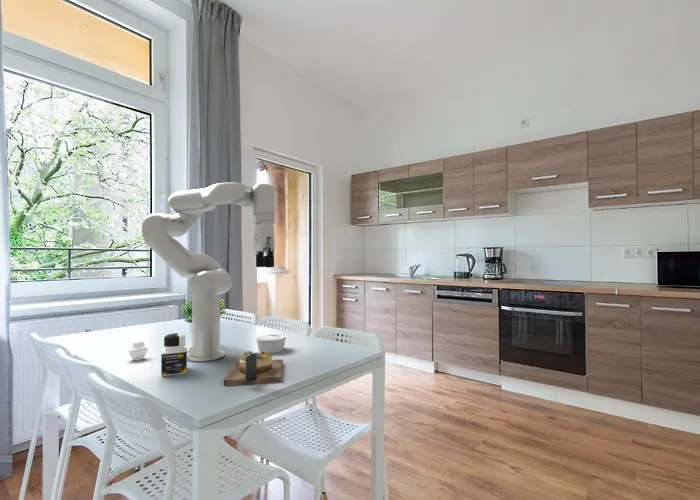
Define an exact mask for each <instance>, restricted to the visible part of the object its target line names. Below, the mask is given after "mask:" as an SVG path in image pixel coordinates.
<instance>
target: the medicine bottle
mask: <svg viewBox="0 0 700 500" xmlns="http://www.w3.org/2000/svg"><path fill="white" fill-rule="evenodd" d="M187 347H188V346H187V345H186V335H185V334H183V333H178V332H177V333H169V334H166V335H165V336H164V338H163V349H162V352H161V355H160V358H161V361H160V364H161V366H160V367H161V369H160V370H161V371H160V373H161V374H160V376H161V377H169V376H176V375H183V374H187V372H188V353H187Z"/></svg>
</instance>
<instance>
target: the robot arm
mask: <svg viewBox="0 0 700 500" xmlns="http://www.w3.org/2000/svg"><path fill="white" fill-rule="evenodd" d="M275 193H276V191H275V187H274V186H273V185H271V184H268V183H259V184H258V183H257V184H255V185H253V187H251V186H249V185H245V184H243V183H242V182H241V183H240V182H237V181H231V182H230V181H229V182H220V183H215V184H212V185H210V186H208V187H205V188H198V189H197V188H196V189H190V190H189V189H188V190H181V191H175V192H174V193H171V194H170V196H169V197H168V199H167V204H168V207H169V209H170V210H171V211H173V212H174V213H175V215H173V214H166V213H158V212H157V213H156V212H155V213H150V214H149V215H146V217H145V218H144V219H143V220H142V223H141V234H142V238H143V240H144V242H145V244H146V245H147V246H148V247H149V248H150V249H151V250H152V251H153V252H154V253H155V254H157V256H159V257H160V258H161V259H162V260H163V261H164V262H165V263H166V264H167V266H169V267H170V268H171V269H172V270H173V271H174V272H175V273H176V274H177V275H179V276H180V277H182V278H189V279H190V278H191V279H190V280H189V284H188V285H189V293H190V298H191V315H192V317H191V318H192V320H191V321H192V322H191V326H192V327H191V328H192V333H191V334H192V336H191V337H192V344H191V345H189V346H187V361H191V362H209V361H215V360H218V359H221V358H223V357H225V351H224V350H221V305H220V304H221V303H220V301H219V298H218V296H220V295H222V294H226V293H227V292H228V291H229V290H230V289H231V287H232V285H233V284H232V283H233V282H232V277H231V276H230V273H228V272H227V270H226V269H224V267H222V266H221V265H220V264H219V263H218V262H217V261H216V260H214V258H213V257H211V256H210V255H208V254H207V253H206V254H205V253H203V252H195V251H190V250H188V249H187V248H186V247H185V246H184V245H183V244H182V243H181V242H179V240H176V239H175V238H178V237H179V238H180V237H182V236H184V235H185V234H187V233H188V231H189V230H190V229H191V228H192V227H193V226H194V224H195V223H196V222H197V221H198V220H199V218H200V217H201V216H202V215H203V213H204V212H205V213H207V212H212V211H214V210H215V209H216V207H217V206H219V205H231V204H232V205H237V206H241V207H244V208H253V209H252V210H253V211H252V212H253V222H252V223H253V224H254V227H253V228H254V229H253V244H252V245H253V247H252V248H253V250H254V252H255V266H256V268H274V267H275V243H276V242H275V241H276V239H275V228H274V225H275V224H276V207H275V205H276V201H275V200H276V198H275V196H276V195H275Z"/></svg>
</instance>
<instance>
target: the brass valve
mask: <svg viewBox="0 0 700 500" xmlns="http://www.w3.org/2000/svg"><path fill="white" fill-rule="evenodd" d="M272 360H273V355H271V354H269V351H267V350H264V351H261V352H253V351H251V350H247V351H244V352H243V355H242V356H240V357H239V359H238V362H239V371H241V372H244V373H246V381H255V380H257V373H259V372H264V371H267V370H270V369H271V368H272Z"/></svg>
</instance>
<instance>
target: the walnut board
mask: <svg viewBox="0 0 700 500" xmlns="http://www.w3.org/2000/svg"><path fill="white" fill-rule="evenodd" d="M283 361H284V359H272V368H271V369H270V370H267V371H264V372H259V373H257V380H255V381H246V373H244V372H241V371H239V361H234V362H232V365H231V367H230V368H229V370H228V372H227V374H226V375H225V377H224V379H223V386H236V385H237V386H238V385H239V386H240V385H252V384H253V385H254V384H269V383H281V382H282V374H283V367H284V364H283V363H284V362H283Z"/></svg>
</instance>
